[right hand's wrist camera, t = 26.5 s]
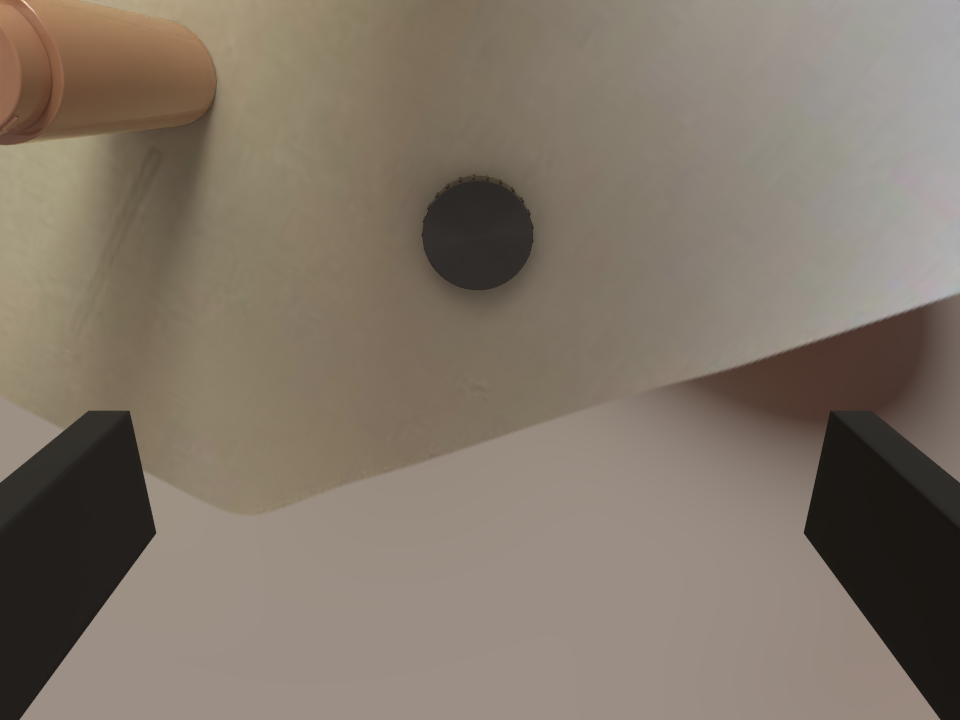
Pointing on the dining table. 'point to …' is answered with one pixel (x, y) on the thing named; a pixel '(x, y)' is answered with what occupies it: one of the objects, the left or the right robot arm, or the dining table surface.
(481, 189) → the lid
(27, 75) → the jar
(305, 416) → the dining table surface
